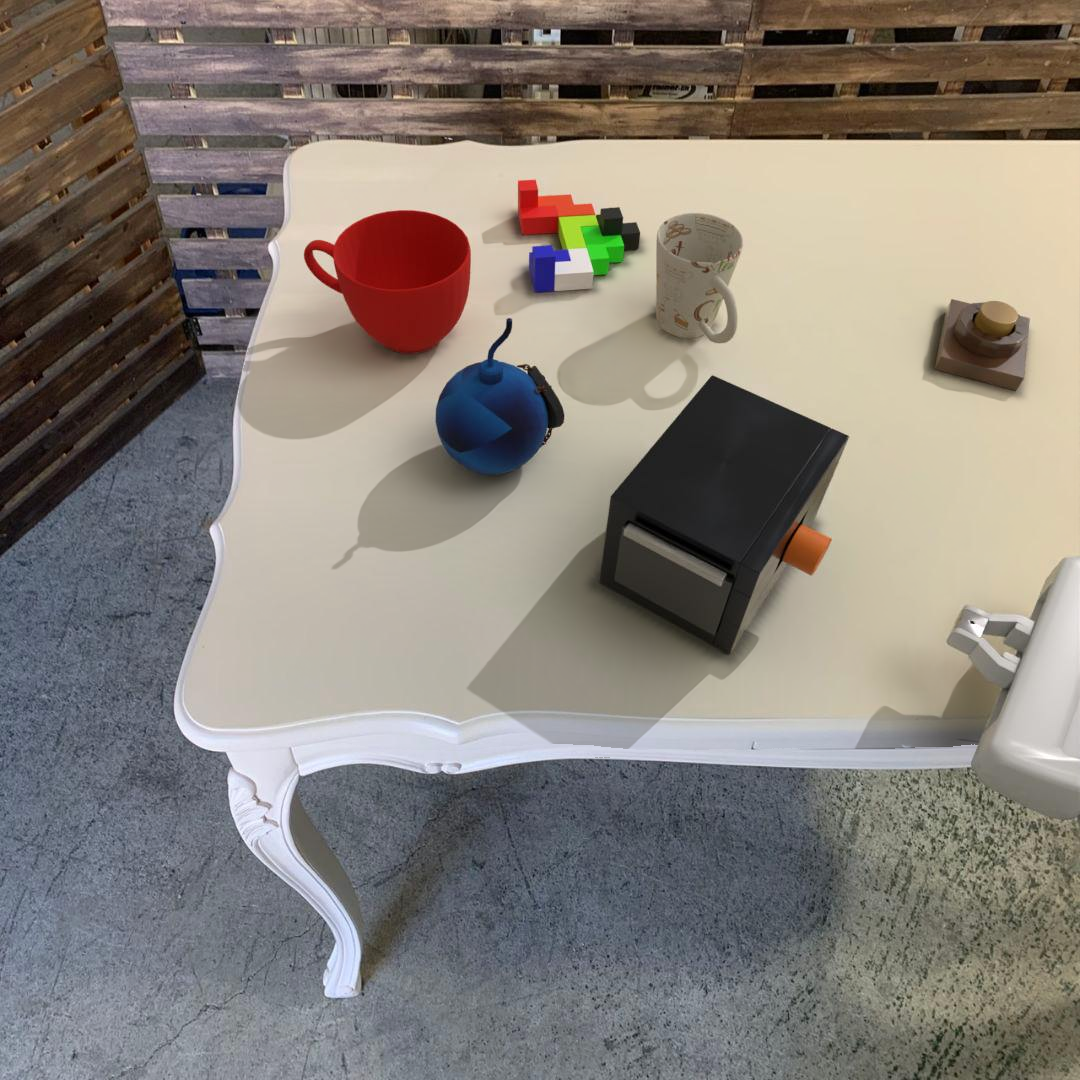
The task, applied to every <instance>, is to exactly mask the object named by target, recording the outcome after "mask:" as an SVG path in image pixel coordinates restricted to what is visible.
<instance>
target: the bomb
mask: <svg viewBox="0 0 1080 1080" xmlns="http://www.w3.org/2000/svg"><path fill="white" fill-rule="evenodd" d="M512 329H513V318H511V317H507V318H506V321H505V329H504V331H503V332H502V334H501V335H500V336H499V337H497V339H496V340H495V341H494V342H493V343H492V344H491V346H490V348H489V349H488V352H487V358H486V359H484V360H483V361H480V362H475V363H471V364H469V365H467V366H465V367H463V368H462V369H461V370H458V371H457V372H456V373H455V374H453V376H452V377H451V378H449V380H448V381H447V382H446V383H445V385H444V387H443V388H442V391H441V392H440V394H439V395H438V399H437V402H436V406H435V420H434V421H435V426H436V431H437V435H438V437H439V440H440V443H441V445H442V446H443V448H444V449H445V450H446V452H447V453H448V455H449V456H450V457H451V458H452V459H453V460H454V461H456V463H458V464H459V465H460V466H461V467H464V468H466V469H467V470H470V471H473V472H476V473H479V474H483V475H501V474H502V475H503V474H507V473H509V472H513V471H516V470H517V469H519V468H521V467H522V466H524V465H525V464H527V463H528V462H529V461H530V460H531V459H532V458H533V457H534V456H535V455H536V454H537V453H538V451H539V450H540V448H542V447H543V446H545V445H546V444H547V442H548V440H549V439H550V438H551V436H552V431H553V429H555V428H560V427H561V426H562V425H563V424H564V423H565V411H564V407H563V405H562V402H561V401H560V398H559V397H558V396H557V394H556V392H555V391H554V389H553V386H552V385H551V384H549V382H548V381H547V380H546V377H545V375H544V374H542V372H541V371H540V369H539V368H538V367H537V365H533V366H530V364H527V363H524V364H517V365H516V366H515V365H514V364H511V363H508V362H505V361H499V360H497V359H494V356H495V353H496V352H497V349H498V348H499V347H500V346H501V345H502V344H503V343H504V342H506V341H507V339H508V338H509V336H510V335H511V333H512Z"/></svg>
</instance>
